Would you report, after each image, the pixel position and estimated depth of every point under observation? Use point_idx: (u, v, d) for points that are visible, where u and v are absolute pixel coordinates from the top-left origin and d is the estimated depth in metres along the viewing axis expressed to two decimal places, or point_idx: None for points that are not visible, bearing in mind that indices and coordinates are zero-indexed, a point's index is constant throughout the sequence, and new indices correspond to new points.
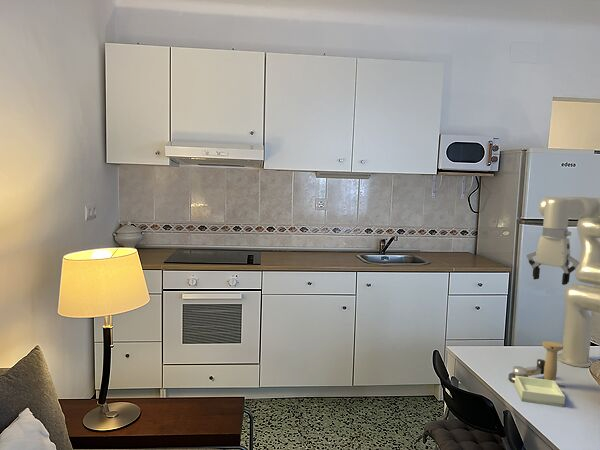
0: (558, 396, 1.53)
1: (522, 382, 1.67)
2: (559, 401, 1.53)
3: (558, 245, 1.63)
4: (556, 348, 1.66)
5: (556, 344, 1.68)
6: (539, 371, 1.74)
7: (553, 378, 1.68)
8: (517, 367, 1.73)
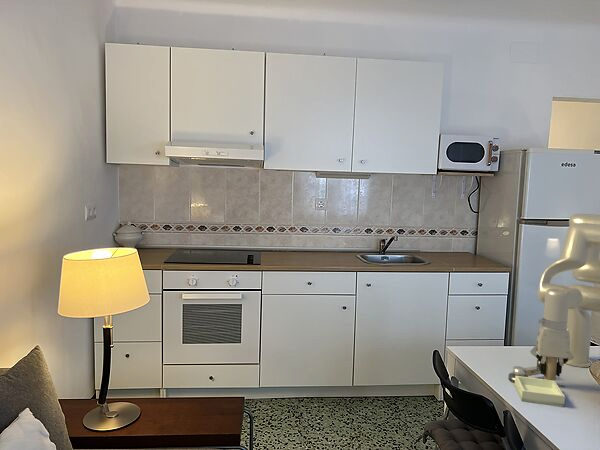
0: (558, 396, 1.53)
1: (522, 382, 1.67)
2: (559, 401, 1.53)
3: None
4: None
5: None
6: (539, 371, 1.74)
7: (553, 378, 1.68)
8: (517, 367, 1.73)
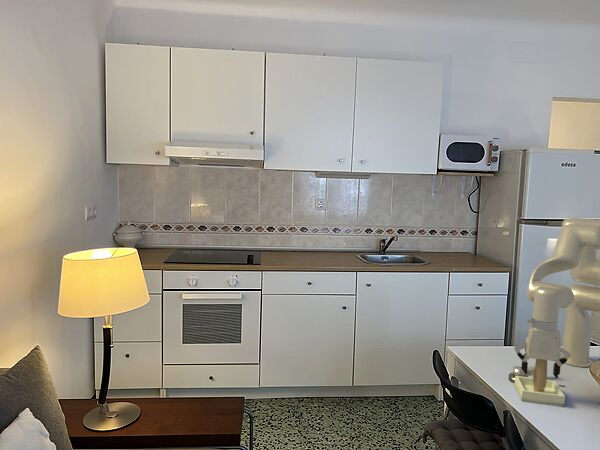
0: (558, 396, 1.53)
1: (522, 382, 1.67)
2: (559, 401, 1.53)
3: None
4: None
5: None
6: None
7: (543, 386, 1.59)
8: (517, 367, 1.73)
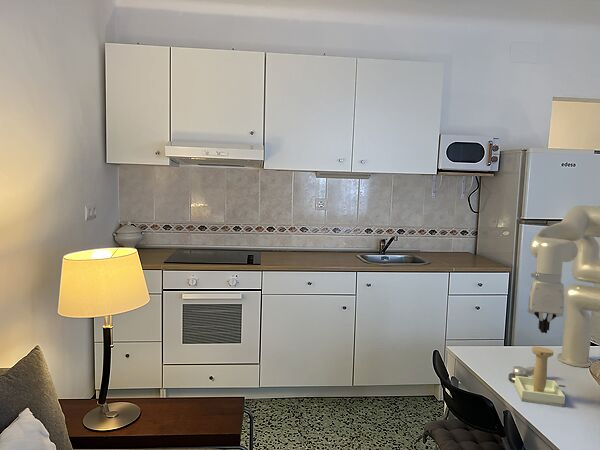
0: (558, 396, 1.53)
1: (522, 382, 1.67)
2: (559, 401, 1.53)
3: None
4: (546, 354, 1.57)
5: (546, 350, 1.59)
6: None
7: (543, 386, 1.59)
8: (517, 367, 1.73)
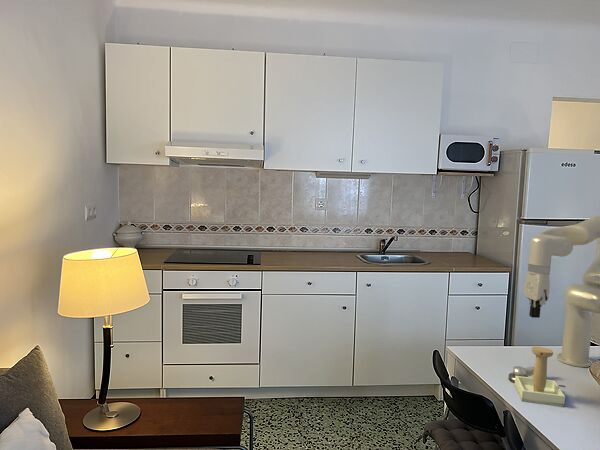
0: (558, 396, 1.53)
1: (522, 382, 1.67)
2: (559, 401, 1.53)
3: None
4: (546, 354, 1.57)
5: (546, 350, 1.59)
6: None
7: (543, 386, 1.59)
8: (517, 367, 1.73)
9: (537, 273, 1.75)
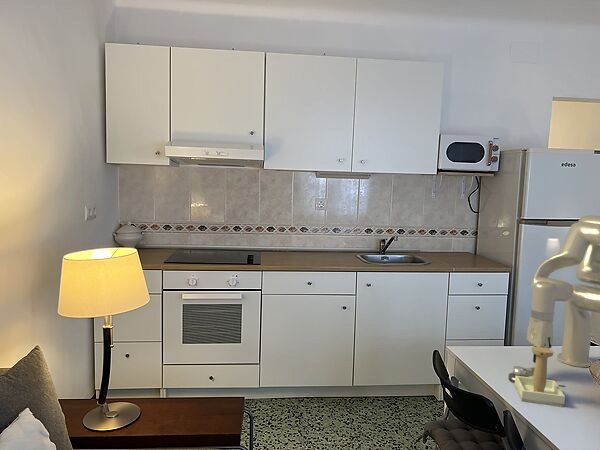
0: (558, 396, 1.53)
1: (522, 382, 1.67)
2: (559, 401, 1.53)
3: None
4: (546, 354, 1.57)
5: (546, 350, 1.59)
6: None
7: (543, 386, 1.59)
8: (517, 367, 1.73)
9: (540, 320, 1.73)
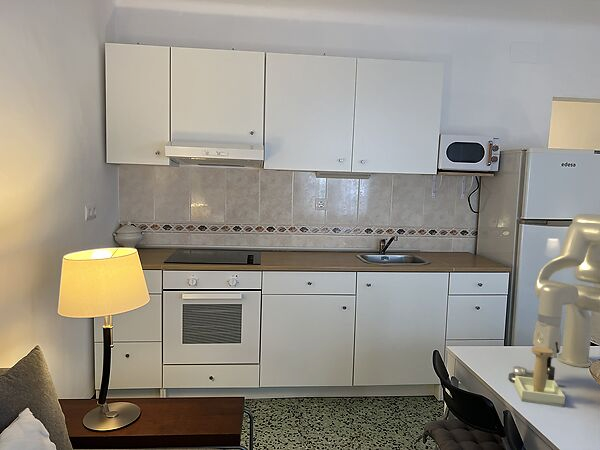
0: (558, 396, 1.53)
1: (522, 382, 1.67)
2: (559, 401, 1.53)
3: None
4: (546, 354, 1.57)
5: (546, 350, 1.59)
6: None
7: (543, 386, 1.59)
8: (519, 367, 1.73)
9: (548, 324, 1.68)
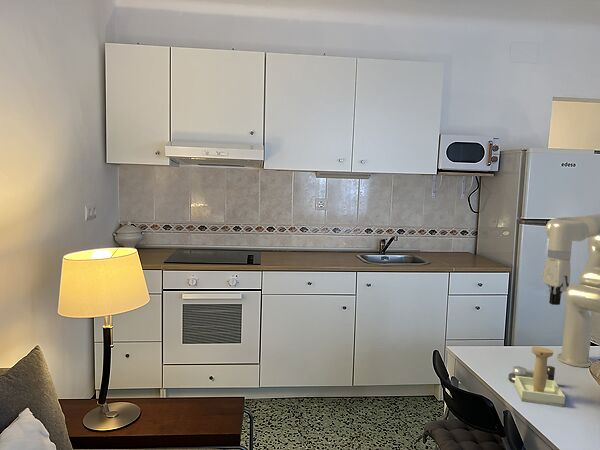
0: (558, 396, 1.53)
1: (522, 382, 1.67)
2: (559, 401, 1.53)
3: None
4: (546, 354, 1.57)
5: (546, 350, 1.59)
6: None
7: (543, 386, 1.59)
8: (519, 367, 1.73)
9: (557, 259, 1.71)
